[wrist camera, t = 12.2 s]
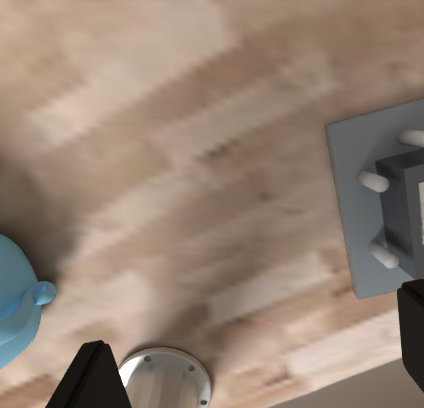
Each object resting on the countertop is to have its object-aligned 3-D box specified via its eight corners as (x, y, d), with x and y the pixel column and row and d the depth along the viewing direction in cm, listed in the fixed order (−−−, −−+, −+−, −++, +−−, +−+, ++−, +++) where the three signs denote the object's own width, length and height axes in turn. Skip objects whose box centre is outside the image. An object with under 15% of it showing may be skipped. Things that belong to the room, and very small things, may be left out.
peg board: (477, 265, 36) (515, 287, 31) (354, 293, 37) (373, 319, 32) (467, 85, 30) (511, 80, 26) (324, 125, 32) (342, 127, 27)
